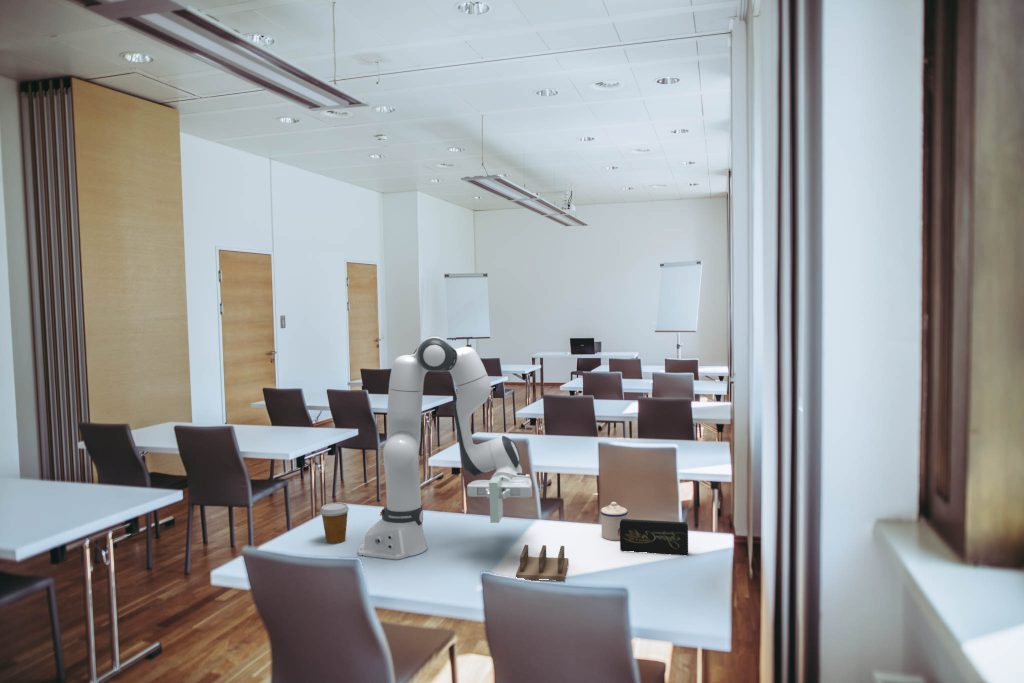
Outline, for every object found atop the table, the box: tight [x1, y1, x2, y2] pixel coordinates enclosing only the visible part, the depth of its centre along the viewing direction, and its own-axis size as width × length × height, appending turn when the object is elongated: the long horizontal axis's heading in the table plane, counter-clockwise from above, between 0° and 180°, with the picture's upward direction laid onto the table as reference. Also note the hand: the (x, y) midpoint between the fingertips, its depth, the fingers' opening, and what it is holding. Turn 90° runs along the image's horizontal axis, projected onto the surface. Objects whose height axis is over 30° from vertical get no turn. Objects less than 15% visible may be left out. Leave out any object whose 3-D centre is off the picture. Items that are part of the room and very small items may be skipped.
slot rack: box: [515, 544, 569, 583], centre depth 199 cm, size 14×14×6 cm
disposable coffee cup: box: [319, 502, 350, 545], centre depth 231 cm, size 10×10×12 cm
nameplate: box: [619, 518, 689, 556], centre depth 212 cm, size 21×2×10 cm, turn 75°
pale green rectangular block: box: [489, 477, 504, 524], centre depth 202 cm, size 2×7×12 cm, turn 170°
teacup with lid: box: [600, 501, 629, 541], centre depth 228 cm, size 12×9×12 cm
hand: (495, 496), depth 201 cm, fingers closed on pale green rectangular block, 2 cm apart
